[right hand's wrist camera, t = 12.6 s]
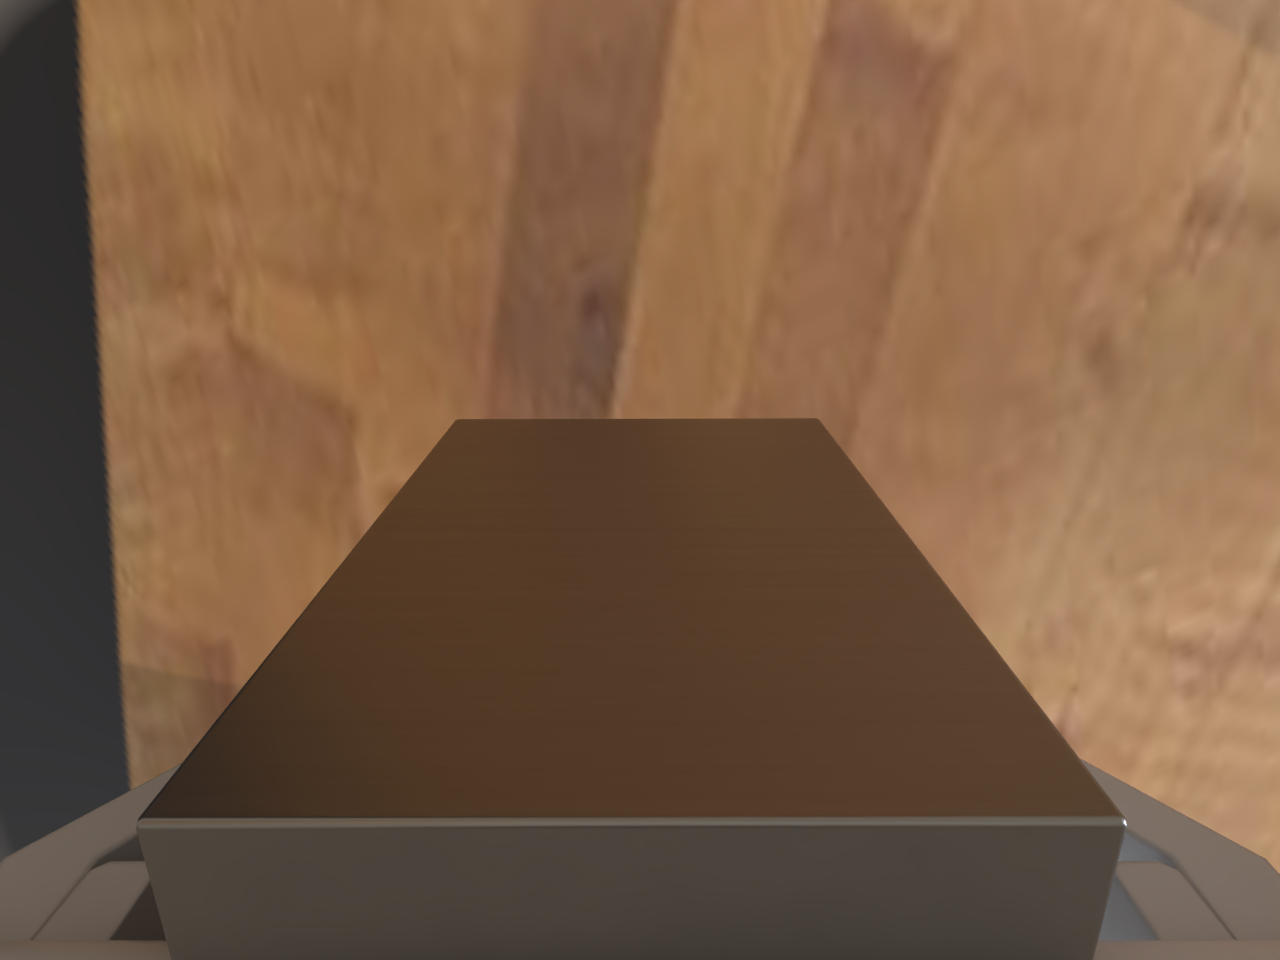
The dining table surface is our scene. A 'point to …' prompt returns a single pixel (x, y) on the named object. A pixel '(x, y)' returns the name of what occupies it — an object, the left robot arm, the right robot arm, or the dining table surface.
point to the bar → (633, 729)
